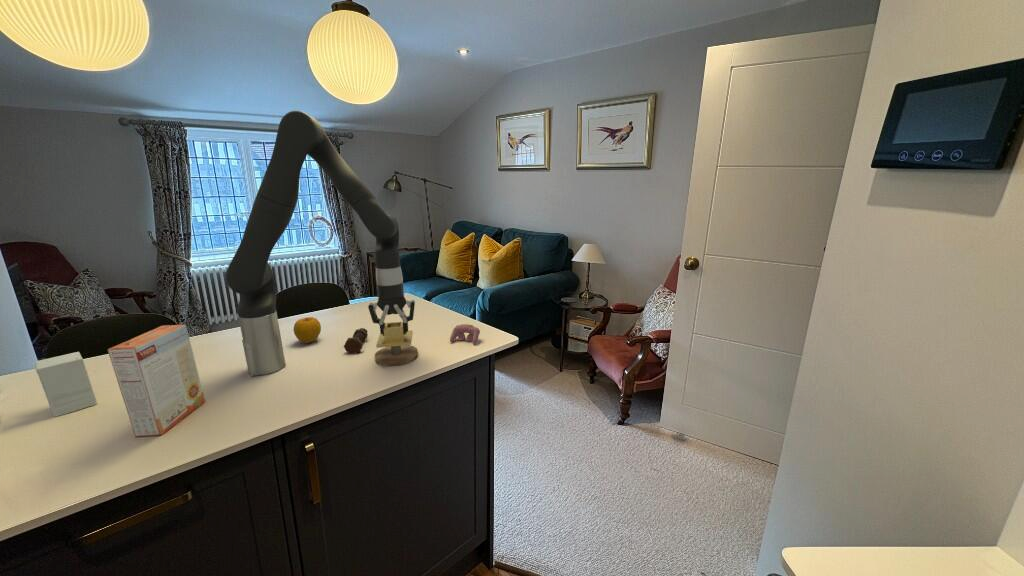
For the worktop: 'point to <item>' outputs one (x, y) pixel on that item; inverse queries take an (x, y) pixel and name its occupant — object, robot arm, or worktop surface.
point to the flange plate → (394, 336)
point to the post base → (396, 355)
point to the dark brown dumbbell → (356, 341)
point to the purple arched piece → (465, 328)
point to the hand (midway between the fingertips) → (394, 334)
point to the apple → (307, 329)
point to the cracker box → (157, 379)
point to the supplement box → (66, 383)
